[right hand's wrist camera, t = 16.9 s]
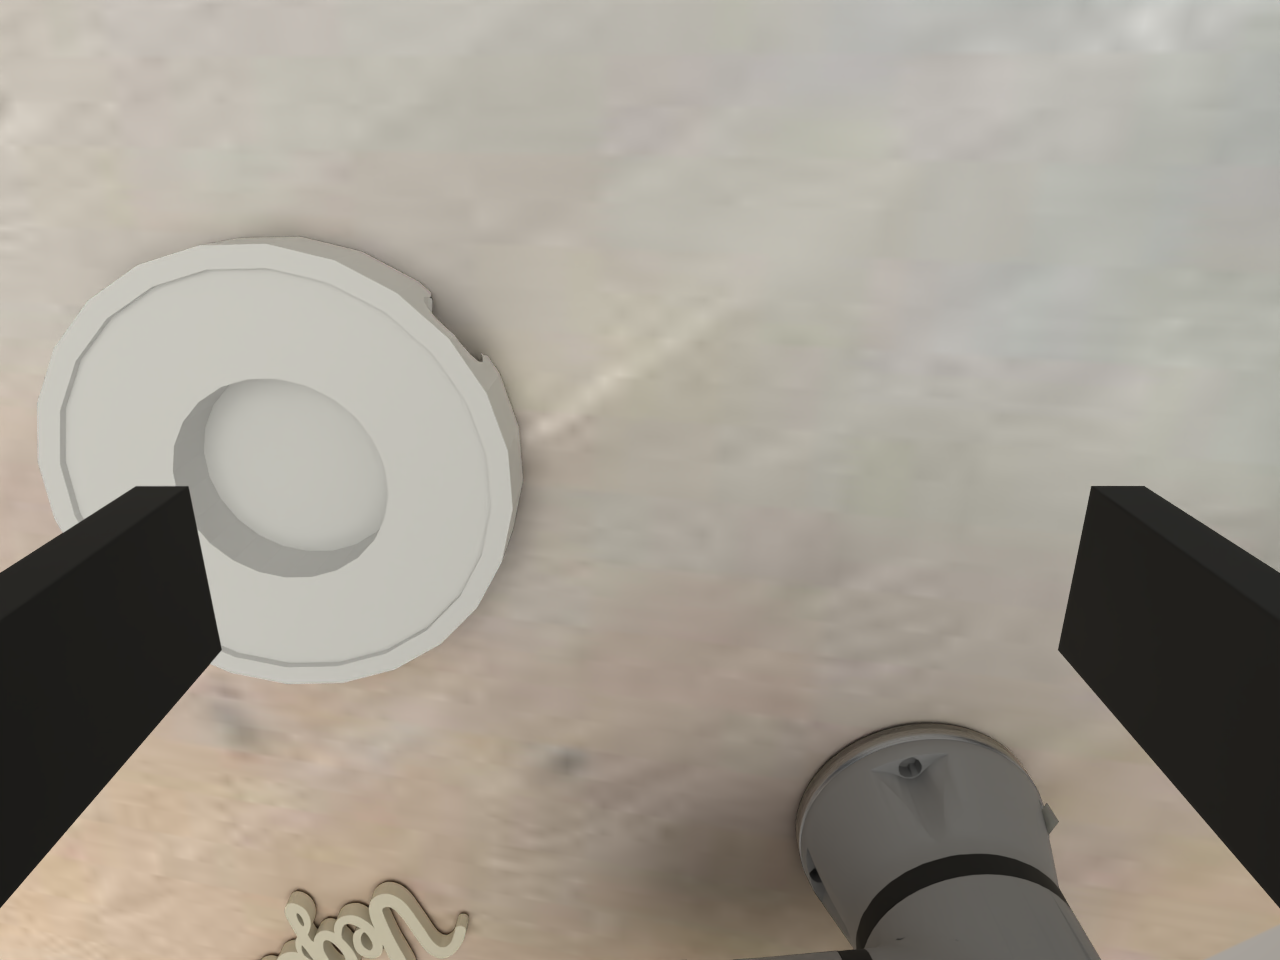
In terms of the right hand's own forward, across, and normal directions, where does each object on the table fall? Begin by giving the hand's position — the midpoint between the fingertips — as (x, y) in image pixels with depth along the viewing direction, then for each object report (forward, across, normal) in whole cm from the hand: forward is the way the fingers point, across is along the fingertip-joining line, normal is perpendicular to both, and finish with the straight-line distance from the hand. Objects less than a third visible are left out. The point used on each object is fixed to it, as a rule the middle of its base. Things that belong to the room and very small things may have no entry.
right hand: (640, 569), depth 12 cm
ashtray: (+32, +18, +9) cm, 37 cm away
